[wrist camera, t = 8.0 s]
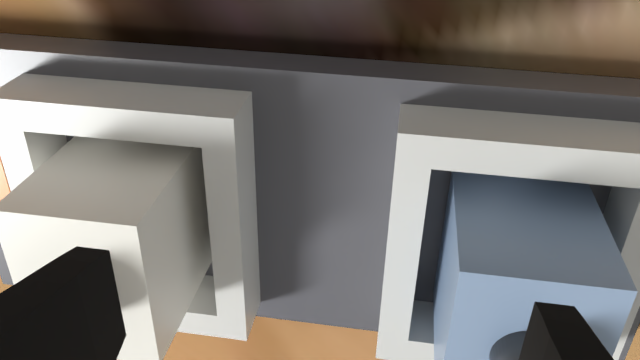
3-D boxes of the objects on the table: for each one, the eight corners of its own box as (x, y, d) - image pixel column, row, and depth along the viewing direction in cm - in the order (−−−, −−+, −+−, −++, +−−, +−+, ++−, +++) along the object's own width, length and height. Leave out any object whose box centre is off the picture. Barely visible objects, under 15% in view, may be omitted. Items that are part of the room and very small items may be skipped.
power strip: (612, 332, 22) (640, 409, 19) (24, 260, 25) (-30, 318, 22) (706, 83, 17) (764, 136, 14) (-45, 29, 20) (-126, 64, 17)
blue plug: (551, 305, 20) (598, 487, 15) (433, 291, 21) (435, 462, 15) (587, 180, 18) (661, 343, 12) (452, 168, 18) (463, 318, 13)
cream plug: (212, 259, 22) (137, 410, 16) (109, 248, 22) (1, 390, 17) (201, 137, 19) (106, 266, 13) (84, 127, 20) (-53, 247, 14)
